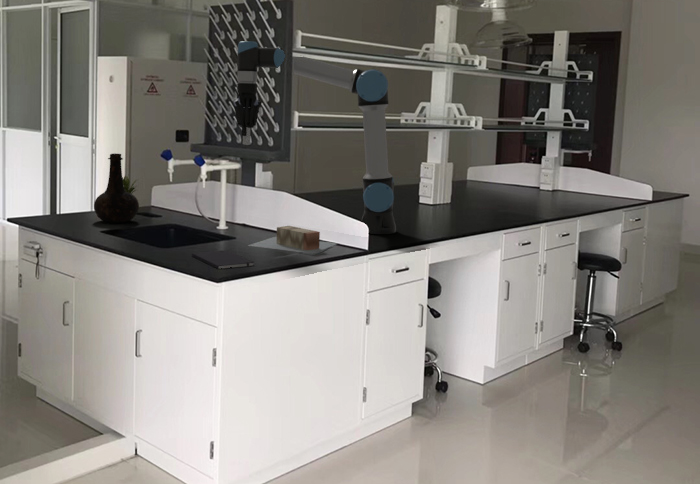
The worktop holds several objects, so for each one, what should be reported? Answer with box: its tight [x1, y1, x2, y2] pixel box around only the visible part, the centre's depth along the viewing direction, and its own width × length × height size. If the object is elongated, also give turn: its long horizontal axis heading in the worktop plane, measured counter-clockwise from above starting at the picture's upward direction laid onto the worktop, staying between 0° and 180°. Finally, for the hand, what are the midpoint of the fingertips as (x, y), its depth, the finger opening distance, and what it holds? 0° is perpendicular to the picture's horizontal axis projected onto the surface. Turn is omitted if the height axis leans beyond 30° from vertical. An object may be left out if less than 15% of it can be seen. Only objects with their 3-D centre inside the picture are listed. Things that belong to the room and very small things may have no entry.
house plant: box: [122, 174, 138, 195], centre depth 355 cm, size 14×14×16 cm
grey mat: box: [247, 235, 338, 256], centre depth 284 cm, size 22×26×1 cm
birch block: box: [276, 225, 321, 250], centre depth 281 cm, size 6×6×16 cm
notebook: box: [191, 249, 254, 270], centre depth 255 cm, size 13×2×21 cm
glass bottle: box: [93, 153, 140, 224], centre depth 319 cm, size 18×18×28 cm
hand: (246, 144), depth 304 cm, fingers closed
